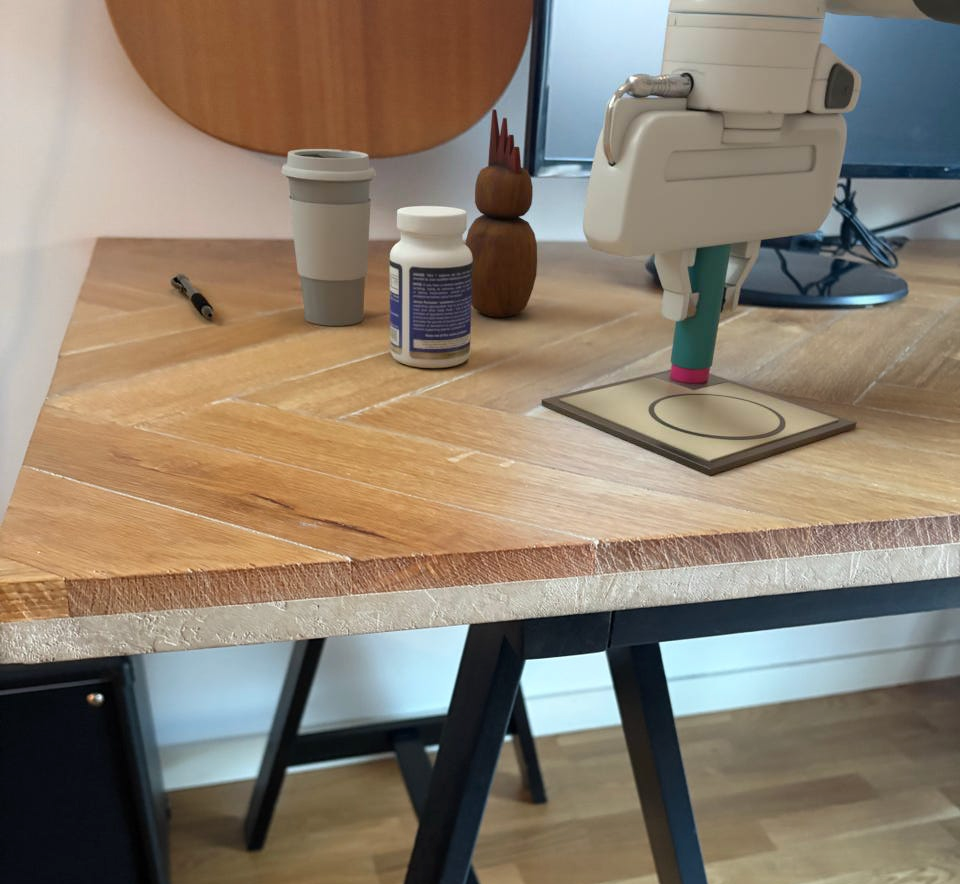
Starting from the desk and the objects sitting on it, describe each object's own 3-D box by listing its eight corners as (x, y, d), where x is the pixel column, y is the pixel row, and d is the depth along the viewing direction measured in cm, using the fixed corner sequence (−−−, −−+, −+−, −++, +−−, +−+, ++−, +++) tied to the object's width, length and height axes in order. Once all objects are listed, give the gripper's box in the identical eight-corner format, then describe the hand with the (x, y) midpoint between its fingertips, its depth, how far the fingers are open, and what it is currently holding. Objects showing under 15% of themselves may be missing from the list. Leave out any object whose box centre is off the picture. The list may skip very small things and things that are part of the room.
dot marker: (686, 369, 70) (712, 191, 64) (719, 380, 68) (749, 198, 62) (658, 376, 68) (682, 194, 62) (691, 387, 66) (719, 201, 60)
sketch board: (685, 371, 71) (687, 363, 71) (855, 428, 62) (857, 419, 62) (541, 405, 64) (541, 396, 63) (710, 475, 55) (712, 466, 54)
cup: (392, 315, 82) (391, 153, 75) (353, 334, 76) (349, 161, 70) (316, 304, 84) (309, 146, 77) (273, 321, 78) (262, 153, 72)
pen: (167, 283, 87) (165, 270, 87) (186, 282, 88) (185, 269, 87) (196, 323, 76) (194, 308, 76) (218, 322, 77) (216, 307, 76)
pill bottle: (484, 356, 72) (490, 209, 67) (442, 375, 68) (445, 220, 63) (418, 343, 75) (419, 200, 70) (374, 360, 71) (371, 209, 65)
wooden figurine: (457, 302, 86) (462, 106, 78) (522, 302, 87) (533, 109, 79) (471, 322, 81) (478, 114, 73) (540, 322, 82) (554, 116, 74)
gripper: (655, 77, 51) (623, 348, 58) (878, 80, 62) (828, 307, 69) (571, 69, 55) (551, 323, 62) (794, 73, 66) (755, 288, 73)
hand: (699, 314), depth 66 cm, fingers closed on dot marker, 3 cm apart
